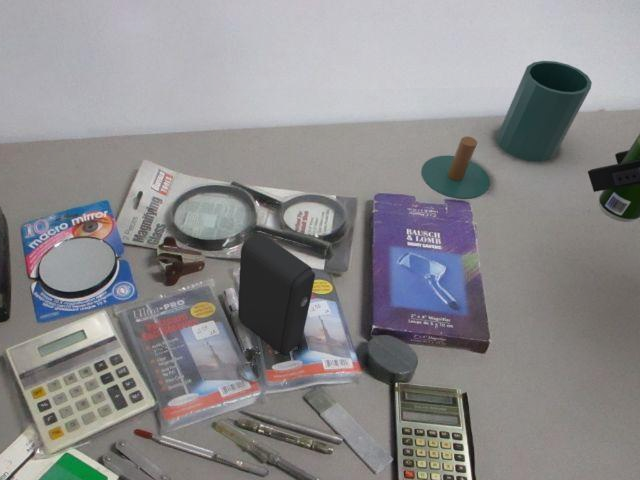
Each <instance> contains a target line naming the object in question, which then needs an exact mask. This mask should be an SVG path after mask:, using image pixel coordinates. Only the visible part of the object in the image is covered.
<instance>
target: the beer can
mask: <svg viewBox="0 0 640 480" xmlns="http://www.w3.org/2000/svg"><path fill="white" fill-rule="evenodd" d="M628 150H629V151H628ZM628 150H627V151H628V153H627V154H626V156H625V158H624V159H623V161H622V162H621V163H624V162H629V161H634V160H639V157H640V133H639V134H638V135H637V137H636V139H635V141H634V142H633V143H632V145H631V147H630V148H629V149H628ZM598 207H599V209H600V211H601V212H602V213H603V214H604V215H605V216H607V217H609V218H610V219H612V220H615V221H617V222H621V223H622V222H623V223H630V222H634V221H637V220H638V219H640V184H637V185H631V186H625V187H620V188H614V189H608V190H602V192H601V193H600V195H599V198H598Z"/></svg>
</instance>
